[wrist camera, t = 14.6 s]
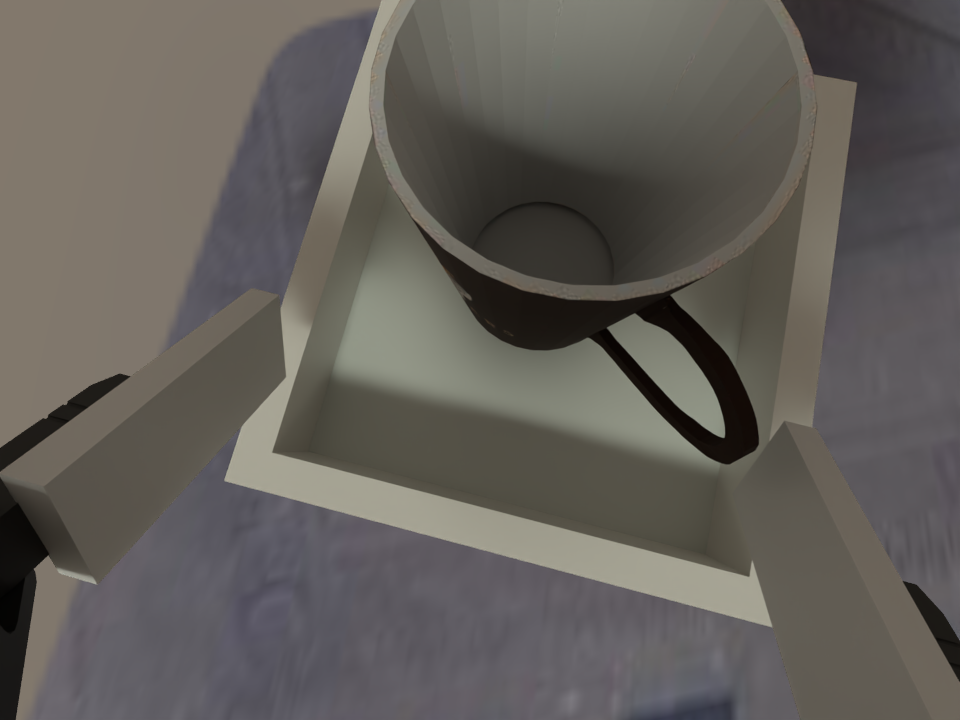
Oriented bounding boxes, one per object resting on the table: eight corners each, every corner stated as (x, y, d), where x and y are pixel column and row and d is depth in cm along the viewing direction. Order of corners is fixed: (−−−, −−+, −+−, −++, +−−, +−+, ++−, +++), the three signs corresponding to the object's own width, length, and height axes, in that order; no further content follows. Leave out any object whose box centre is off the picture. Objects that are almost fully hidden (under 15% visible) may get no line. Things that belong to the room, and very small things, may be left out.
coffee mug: (431, 176, 20) (373, -84, 10) (640, 169, 20) (785, -103, 10) (432, 462, 18) (359, 478, 8) (665, 457, 18) (878, 469, 8)
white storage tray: (788, 150, 21) (857, 82, 17) (721, 590, 18) (785, 630, 14) (403, 73, 22) (384, -7, 18) (279, 473, 19) (224, 480, 15)
